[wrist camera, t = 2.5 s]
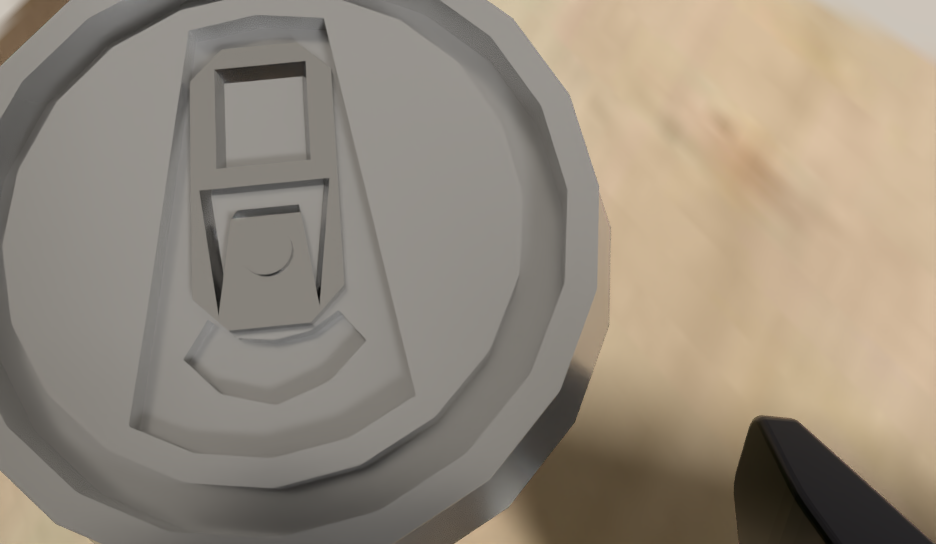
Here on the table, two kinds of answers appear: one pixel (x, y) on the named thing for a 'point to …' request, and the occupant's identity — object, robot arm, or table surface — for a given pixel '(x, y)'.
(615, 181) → the table surface
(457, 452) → the beer can
